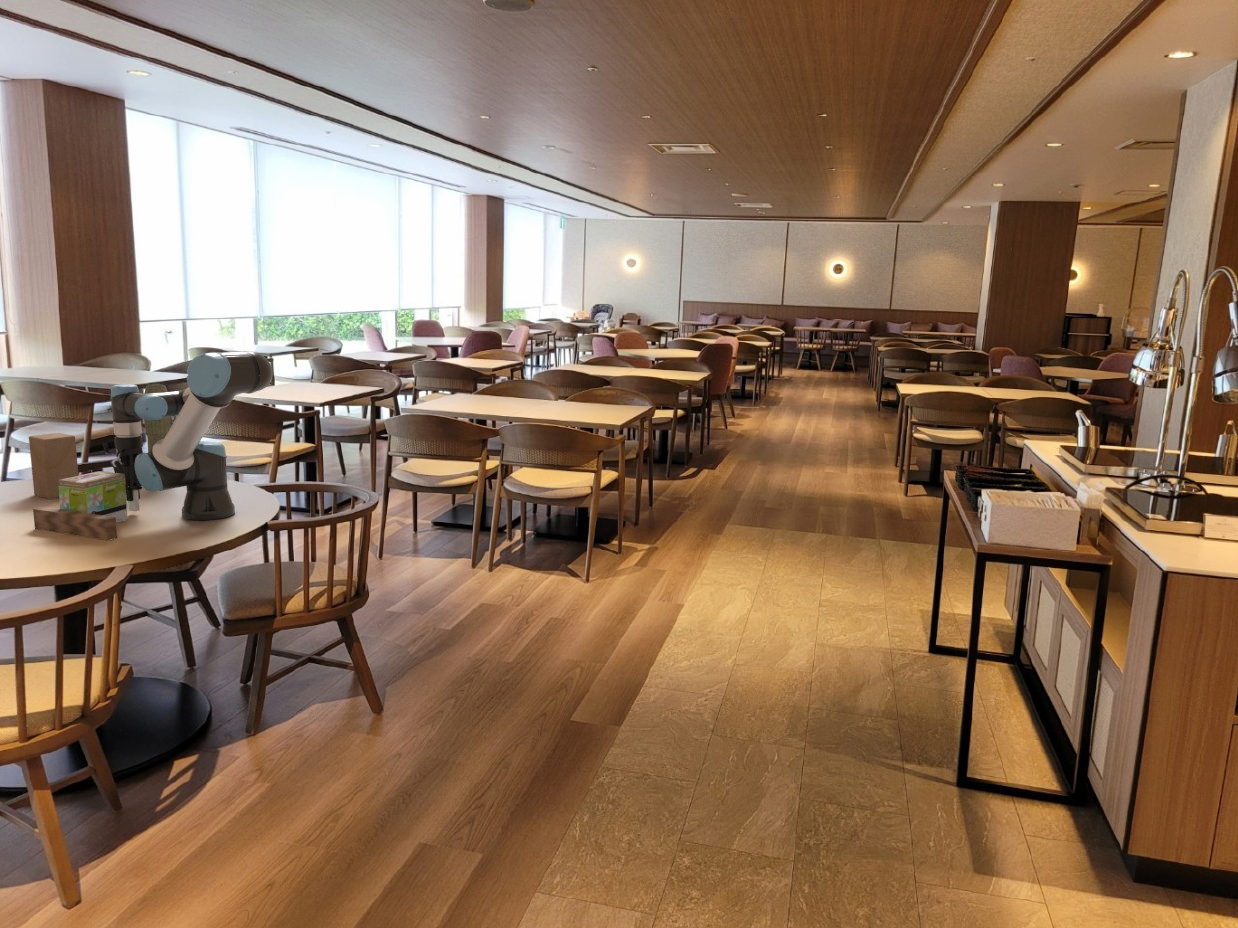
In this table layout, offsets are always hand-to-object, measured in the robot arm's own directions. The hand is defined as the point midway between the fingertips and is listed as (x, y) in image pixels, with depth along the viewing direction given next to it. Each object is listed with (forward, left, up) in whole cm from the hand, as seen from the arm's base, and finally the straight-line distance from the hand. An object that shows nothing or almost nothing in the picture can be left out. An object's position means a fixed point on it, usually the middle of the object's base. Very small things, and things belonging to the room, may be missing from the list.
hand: (134, 510), depth 279 cm
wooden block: (+43, -9, -2) cm, 44 cm away
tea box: (+1, +13, -2) cm, 14 cm away
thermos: (+30, -40, -2) cm, 50 cm away
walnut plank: (-3, +23, -1) cm, 23 cm away
